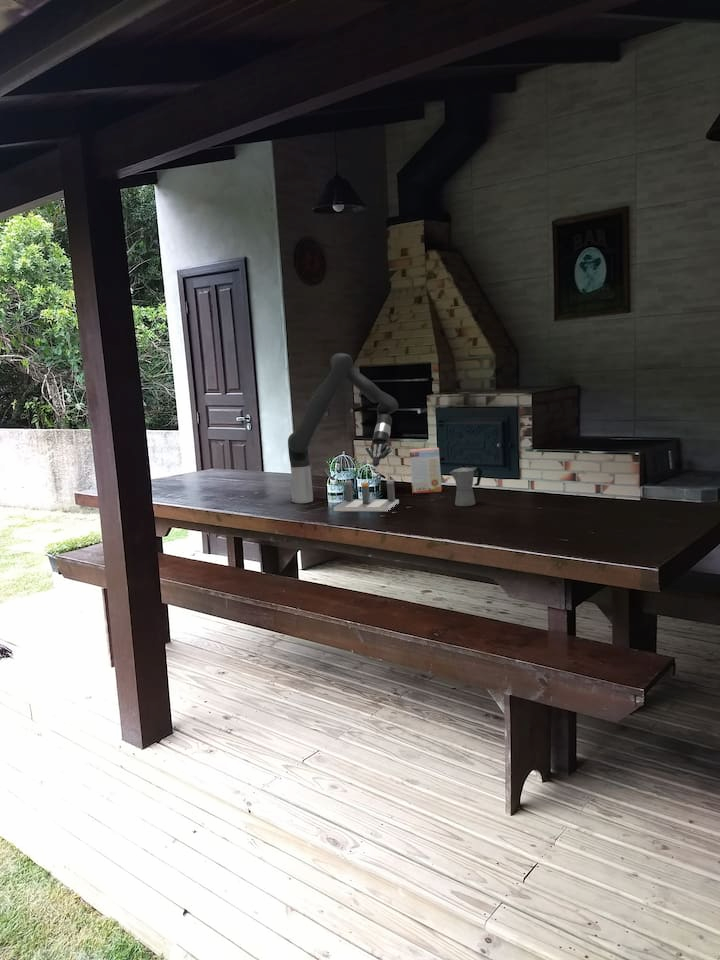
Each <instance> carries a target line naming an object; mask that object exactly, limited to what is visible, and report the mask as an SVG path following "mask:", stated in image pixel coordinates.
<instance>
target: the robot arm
mask: <svg viewBox="0 0 720 960" xmlns="http://www.w3.org/2000/svg"><path fill="white" fill-rule="evenodd" d="M329 363H330V367H331V370H330V371H329V374H328V376H327V377H326V379H325V380H324V381H323V382H322V383H321V384H320V386H319V387H317V389H316V390H315V391H314V393H313V395H312V396H311V398H310V400H309V403H308V404H307V408H306V410H305V413H304V416H303V419H302V422H301V423H300V425H299V427H298V428H297V429H296V431H294V432H292V433H290V435H288V438H287V449H288V450H287V451H288V459H289V464H290V472H291V473H290V474H291V482H290V495H291V503H292V502H294V504H306V503H311V502H313V501H314V496H313V482H312V473H311V472H312V471H311V460H310V456H309V447H310V446H309V445H310V444H311V441H312V438H313V436H314V434H315V432H316V430H317V428H318V426H319V425H320V423H321V422H322V421H323V418H324V417H325V416H326V413H327V412H328V410H329V408H330V407H331V405H332V403H333V401H334V398H335V397H336V395H337V393H338V391H339V389H340V387H341V385H342V383H343V382H344V380H348V381H349V382H350V383H351V384H352V385H354V387H355V388H357V389H358V390H359V392H361V393H362V394H363V395H364V396H365V397H366V398H367V399H368V400H369V401H370V402H372V403H373V404H375V403H378V405H377V408H376V413H377V415H376V417H377V420H376V425H375V428H374V432H373V436H372V441H371V444H370V446H369V447H365V451H366V452H367V454H368V456H369V457H370V458H371V459H372V465H373V467H378V466H379V465H380V461H381V460H384V459H385V458H386V457H387V456H388V455H389V454H390V453H391V452H392V448H391V446H389V440H390V436H391V429H392V424H393V418H392V416H391V415H390V414H392V413H394V412H396V411H398V408H399V403H398V401H397V399H396V398H395V397H393V396H391V395H390V394H388V393H386V392H385V391H382V390H381V389H380V388H379V387H378V386H377V385H376V384H375V383H374V382H373V381H371V380H370V379H369V378H367V377H366V376H364V374H362V373H361V372H359V371H358V369H356V368H355V367H354V361H353V358H352V356H351V355H349V354H348V353H343V352H340V353H339V352H337V353H335V354H333V355H332V357H331V358H330V362H329ZM372 452H373V453H372Z"/></svg>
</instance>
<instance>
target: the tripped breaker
mask: <svg viewBox="0 0 720 960" xmlns="http://www.w3.org/2000/svg"><path fill="white" fill-rule="evenodd" d="M360 484H361V485H360V486H361V496H362V499H361V500H363V504H368V503H370V499H371V496H370V482H368V481H363V482H361V483H360Z"/></svg>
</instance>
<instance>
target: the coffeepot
mask: <svg viewBox="0 0 720 960" xmlns="http://www.w3.org/2000/svg"><path fill="white" fill-rule="evenodd" d="M483 472H484V471H483V469H482V468H481V467H480V466H475V467H474V466H473V467H466V463H465V462H462V463H461V467H459V468H454V469H453V470H451V471H449V474H450V475H451V476H452V477H453V479H454V482H455V486H456V493H455V500H454V501H455V502H454V504H455V506H457V507H469V506H474V505H476V500H475V499H476V498H475V494H474V490H473V483H474V473H477V478H476V483H474V486H475V487H477V486H480V483H481V479H482V475H483Z"/></svg>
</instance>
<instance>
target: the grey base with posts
mask: <svg viewBox="0 0 720 960" xmlns="http://www.w3.org/2000/svg"><path fill="white" fill-rule="evenodd" d="M343 484H344V490H345V491H344V493H345V501H343V502H341V503H339V504H338V505H336V506H333V512H389V511H390V510H392V509H393V508H395V507H396V506H397V505H398V504H400V499H396V496H395V495H396V493H395V492H396V491H395V480H394V479H388V480H386V491H387V499H380V498H379V499H373V498H372V499H371V498H370V503H368V504H363V499H354V492H353V480H346V481H344V483H343ZM396 504H397V505H396ZM395 505H396V506H395ZM392 507H393V508H392ZM391 508H392V509H391ZM388 510H389V511H388Z"/></svg>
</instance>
